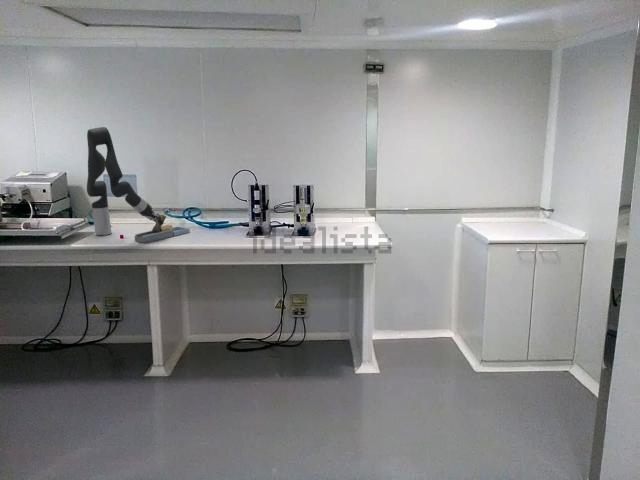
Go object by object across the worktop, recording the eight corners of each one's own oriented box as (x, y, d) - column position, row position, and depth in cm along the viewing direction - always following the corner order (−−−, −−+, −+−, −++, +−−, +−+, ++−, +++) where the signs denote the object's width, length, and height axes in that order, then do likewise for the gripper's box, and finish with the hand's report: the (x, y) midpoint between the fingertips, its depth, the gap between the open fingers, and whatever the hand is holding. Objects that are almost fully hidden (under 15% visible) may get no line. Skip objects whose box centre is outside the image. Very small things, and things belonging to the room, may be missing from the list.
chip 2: (167, 231, 300) (166, 226, 299) (162, 230, 302) (162, 225, 301) (172, 230, 303) (172, 225, 302) (168, 229, 305) (167, 224, 304)
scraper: (156, 231, 293) (164, 214, 296) (151, 230, 295) (159, 214, 298) (159, 233, 295) (167, 216, 298) (154, 232, 297) (162, 216, 300)
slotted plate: (145, 243, 284) (145, 236, 283) (135, 241, 290) (134, 234, 289) (173, 236, 300) (172, 229, 299) (162, 234, 306) (162, 227, 305)
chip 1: (161, 232, 296) (161, 227, 296) (157, 232, 299) (157, 227, 298) (167, 231, 300) (166, 226, 299) (163, 230, 302) (162, 226, 301)
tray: (174, 236, 300) (174, 232, 300) (162, 234, 306) (162, 230, 306) (189, 232, 310) (189, 228, 309) (178, 230, 316) (177, 226, 315)
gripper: (152, 202, 282) (171, 219, 295) (137, 200, 290) (156, 217, 303) (145, 213, 279) (165, 229, 292) (130, 210, 287) (150, 227, 300)
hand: (160, 223), depth 297 cm, fingers closed on scraper, 2 cm apart
